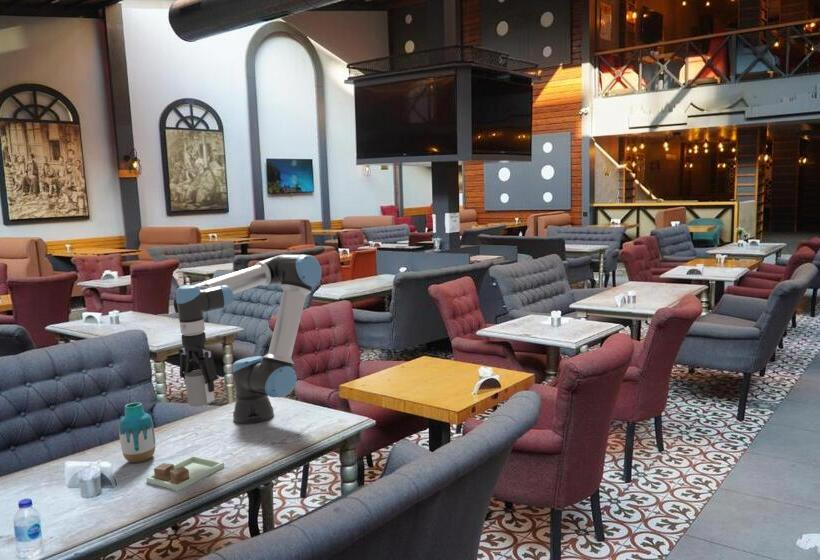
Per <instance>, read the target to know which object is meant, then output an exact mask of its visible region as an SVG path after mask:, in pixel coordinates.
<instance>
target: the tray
mask: <svg viewBox="0 0 820 560" xmlns="http://www.w3.org/2000/svg"><path fill="white" fill-rule="evenodd" d="M182 466H183V467H185V468H186V469H188V470H189V479H188V480H186V481H184V482H182V483H180V484H178V485H177V484H173V483H171V480H169V481H167V482H166V481H162V480H159V479H155V473H153V474H151V475H149V476H147V477H145V479H146V480H145V481H146V483H148V484H152V485H155V486H159V487H163V488H166V489H170V490H173V491H176V492H178V491H180V490H182V489H185V488H186V487H189V486H190V485H192V484H194V483H195V482H198V481H200V480H202V479H203V478H205V477H207V476H210V475H211V474H213V473H215V472H217V471H219V470H221V469H222V468H225V462H224V461H219V460H216V459H211V458H208V457H207V458H206V457H201V456H199V455H194V454H193V455H191V456H190V457H187V458H185V459H183V460H181V461H179V462H177V463H175V464H174V469H176V468H179V467H182Z"/></svg>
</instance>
